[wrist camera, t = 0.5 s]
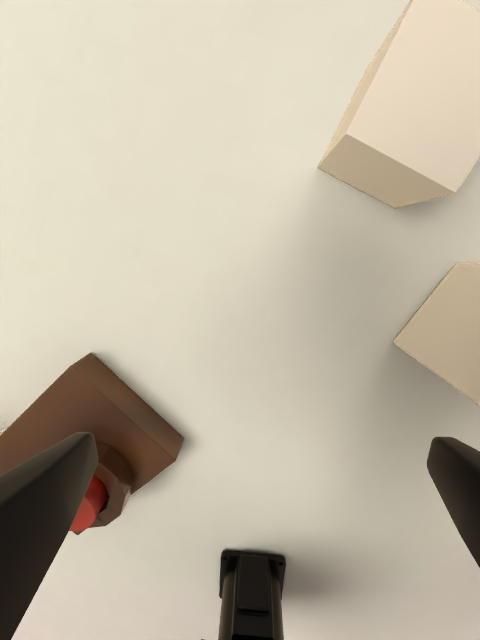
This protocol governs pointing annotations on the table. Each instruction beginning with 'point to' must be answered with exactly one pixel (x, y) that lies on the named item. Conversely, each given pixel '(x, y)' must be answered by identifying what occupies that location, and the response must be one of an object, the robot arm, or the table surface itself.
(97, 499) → the switch button
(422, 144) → the cream cube
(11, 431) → the switch box
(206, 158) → the table surface
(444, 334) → the milk carton
